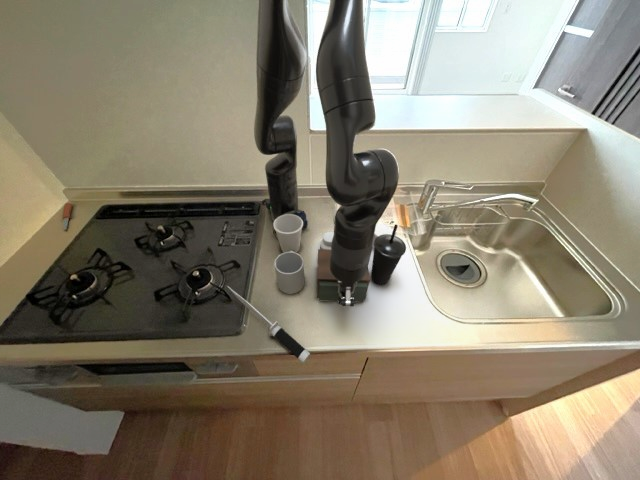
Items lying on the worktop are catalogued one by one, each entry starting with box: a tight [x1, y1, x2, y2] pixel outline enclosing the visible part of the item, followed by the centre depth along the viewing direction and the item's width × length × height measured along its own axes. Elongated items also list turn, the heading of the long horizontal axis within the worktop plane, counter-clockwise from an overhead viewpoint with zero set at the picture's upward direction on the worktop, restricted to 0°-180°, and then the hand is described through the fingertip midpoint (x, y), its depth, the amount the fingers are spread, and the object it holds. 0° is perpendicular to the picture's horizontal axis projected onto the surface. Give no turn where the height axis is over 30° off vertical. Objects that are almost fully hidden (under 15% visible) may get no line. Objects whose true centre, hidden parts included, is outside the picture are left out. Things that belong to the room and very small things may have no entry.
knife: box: [227, 286, 311, 364], centre depth 59 cm, size 26×2×5 cm, turn 52°
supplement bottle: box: [319, 231, 334, 250], centre depth 73 cm, size 5×5×10 cm
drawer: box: [318, 281, 368, 303], centre depth 66 cm, size 10×11×7 cm
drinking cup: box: [370, 224, 407, 287], centre depth 65 cm, size 8×8×20 cm
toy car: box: [272, 209, 308, 239], centre depth 82 cm, size 6×12×6 cm
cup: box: [274, 251, 305, 295], centre depth 68 cm, size 7×10×9 cm
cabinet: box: [316, 248, 371, 301], centre depth 67 cm, size 10×13×9 cm
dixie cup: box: [272, 214, 303, 253], centre depth 76 cm, size 8×8×10 cm
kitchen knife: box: [61, 202, 73, 231], centre depth 86 cm, size 16×1×2 cm
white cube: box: [372, 221, 397, 251], centre depth 79 cm, size 6×6×6 cm
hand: (342, 302), depth 61 cm, fingers closed
